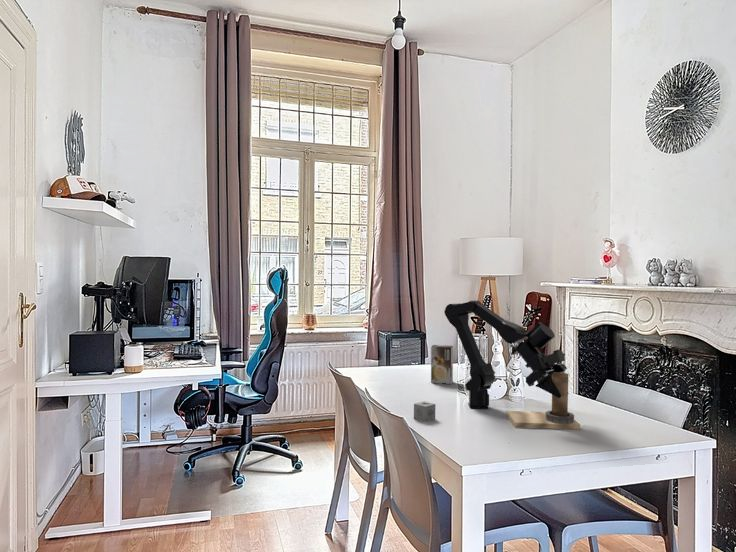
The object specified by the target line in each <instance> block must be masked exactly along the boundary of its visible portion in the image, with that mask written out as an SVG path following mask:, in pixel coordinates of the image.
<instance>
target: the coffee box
mask: <svg viewBox="0 0 736 552" xmlns="http://www.w3.org/2000/svg"><path fill="white" fill-rule="evenodd" d="M430 349H431V350H430V372H431V373H430V383H432V384H442V383H446V384H445V385H452V384H453V383H454V377H453V376H454V373H453V372H454V371H453V370H454V365H453V364H454V359H453V358H454V356H453V355H454V353H453V352H454V350H453V349H454V346H453V345H447V344H445V345H444V344H441V345H440V344H432V345H431V347H430Z"/></svg>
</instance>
